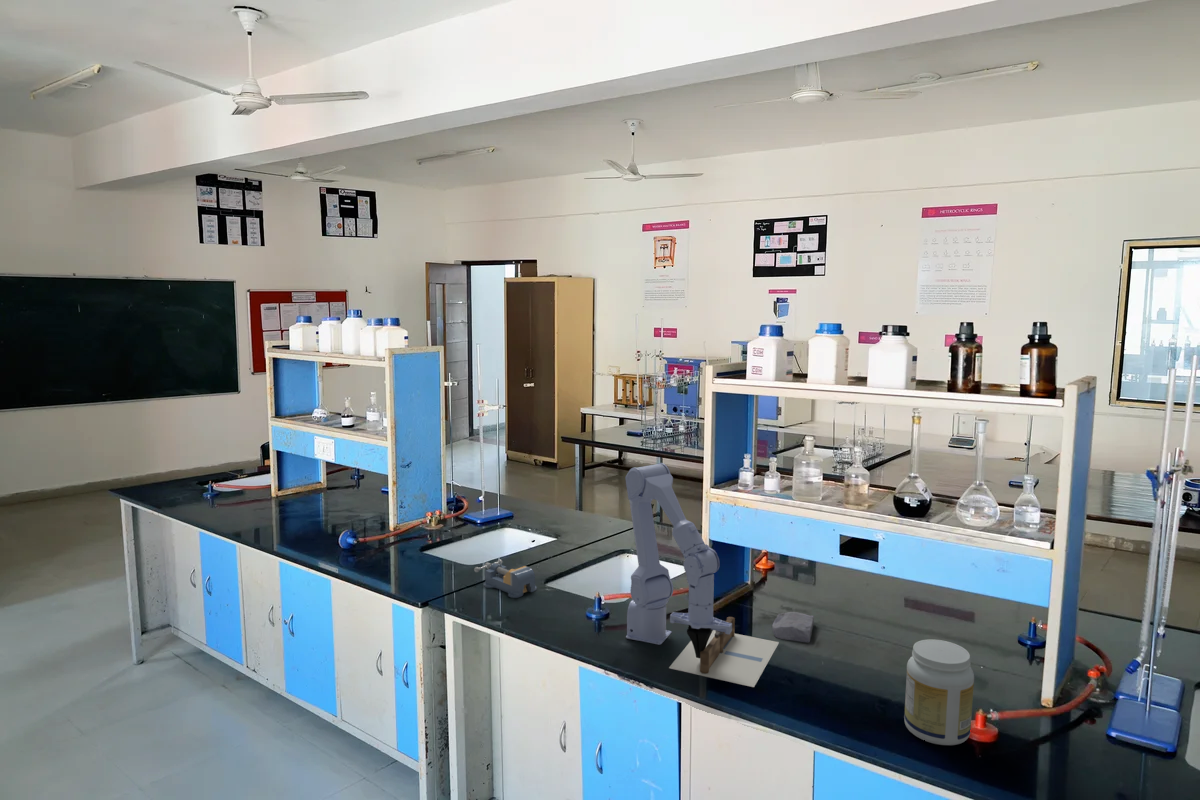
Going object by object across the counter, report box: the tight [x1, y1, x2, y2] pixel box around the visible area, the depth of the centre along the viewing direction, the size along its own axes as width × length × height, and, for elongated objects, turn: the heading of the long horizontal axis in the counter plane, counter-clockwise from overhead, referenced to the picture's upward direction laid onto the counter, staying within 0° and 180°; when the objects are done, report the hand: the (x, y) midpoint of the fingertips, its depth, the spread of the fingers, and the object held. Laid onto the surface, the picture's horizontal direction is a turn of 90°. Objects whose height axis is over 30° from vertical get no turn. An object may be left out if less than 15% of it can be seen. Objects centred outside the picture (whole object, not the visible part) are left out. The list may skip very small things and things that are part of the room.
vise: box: [473, 559, 537, 599], centre depth 229 cm, size 18×10×7 cm, turn 47°
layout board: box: [668, 630, 780, 688], centre depth 186 cm, size 20×24×1 cm
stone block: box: [771, 611, 815, 643], centre depth 199 cm, size 12×5×10 cm
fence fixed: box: [719, 616, 736, 653], centre depth 192 cm, size 2×12×5 cm, turn 154°
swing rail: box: [700, 631, 723, 673], centre depth 182 cm, size 13×2×5 cm, turn 154°
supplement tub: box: [903, 638, 975, 746], centre depth 154 cm, size 12×12×17 cm
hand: (700, 656), depth 182 cm, fingers closed
